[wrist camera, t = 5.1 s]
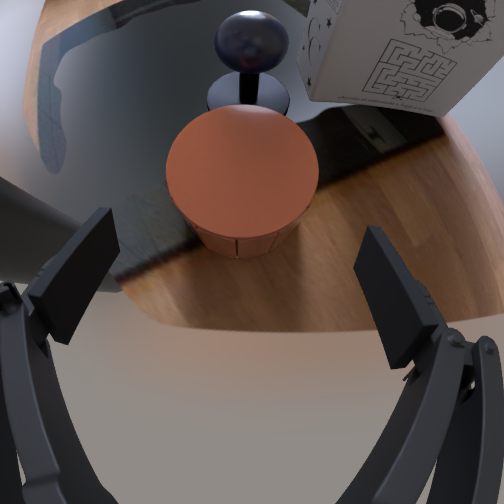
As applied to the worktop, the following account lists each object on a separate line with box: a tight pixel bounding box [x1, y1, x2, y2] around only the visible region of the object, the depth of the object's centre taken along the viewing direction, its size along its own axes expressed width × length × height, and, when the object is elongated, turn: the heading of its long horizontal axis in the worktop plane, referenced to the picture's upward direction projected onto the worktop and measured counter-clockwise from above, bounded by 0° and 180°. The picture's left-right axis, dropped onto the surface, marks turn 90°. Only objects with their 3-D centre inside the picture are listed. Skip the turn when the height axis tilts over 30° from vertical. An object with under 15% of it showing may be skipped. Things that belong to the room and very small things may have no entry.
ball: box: [214, 11, 289, 74], centre depth 18 cm, size 6×6×6 cm
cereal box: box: [297, 0, 504, 118], centre depth 16 cm, size 22×8×25 cm, turn 97°
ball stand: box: [207, 72, 290, 116], centre depth 24 cm, size 9×9×6 cm
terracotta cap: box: [166, 105, 319, 259], centre depth 21 cm, size 10×10×8 cm
